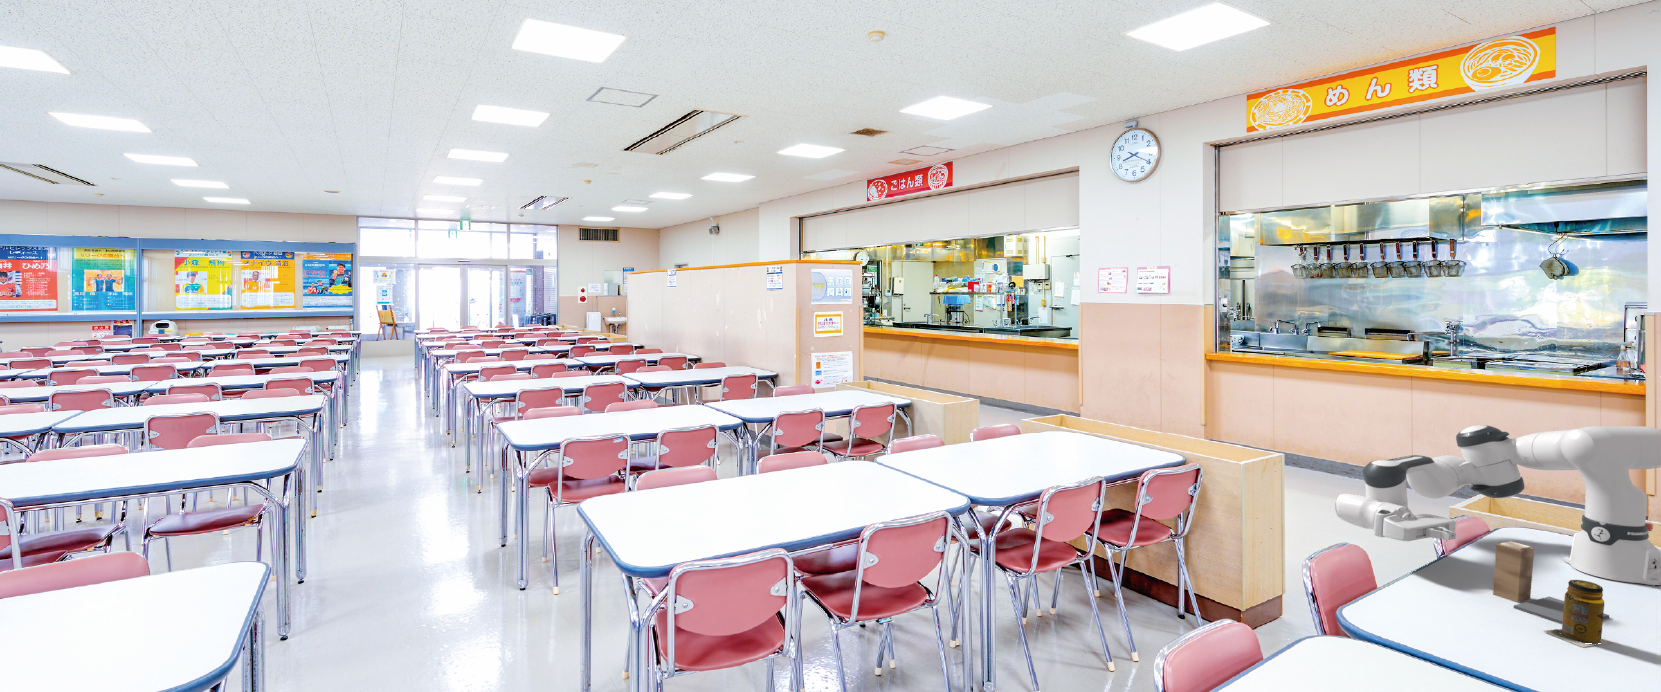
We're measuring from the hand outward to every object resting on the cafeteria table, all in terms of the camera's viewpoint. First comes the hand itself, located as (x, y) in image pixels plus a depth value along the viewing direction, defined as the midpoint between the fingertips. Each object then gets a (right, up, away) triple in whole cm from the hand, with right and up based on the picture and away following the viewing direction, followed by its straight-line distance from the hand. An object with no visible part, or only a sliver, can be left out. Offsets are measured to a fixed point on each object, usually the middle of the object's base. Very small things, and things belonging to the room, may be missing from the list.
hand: (1452, 536), depth 195 cm
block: (+5, -12, -11) cm, 17 cm away
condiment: (0, -14, -32) cm, 35 cm away
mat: (+8, -13, -20) cm, 25 cm away
